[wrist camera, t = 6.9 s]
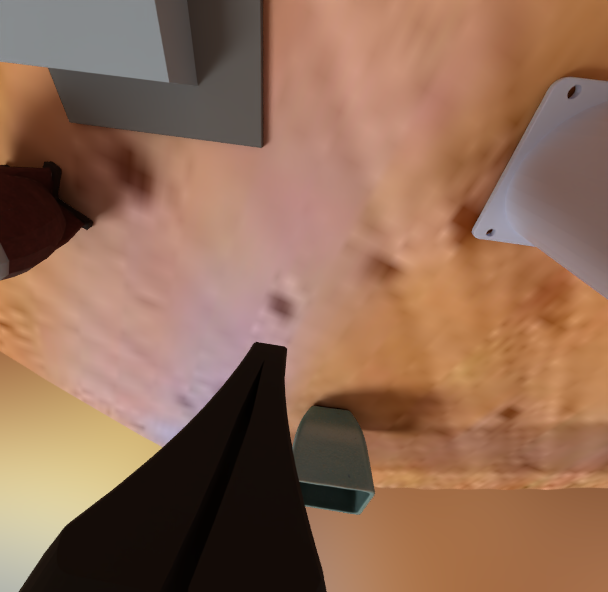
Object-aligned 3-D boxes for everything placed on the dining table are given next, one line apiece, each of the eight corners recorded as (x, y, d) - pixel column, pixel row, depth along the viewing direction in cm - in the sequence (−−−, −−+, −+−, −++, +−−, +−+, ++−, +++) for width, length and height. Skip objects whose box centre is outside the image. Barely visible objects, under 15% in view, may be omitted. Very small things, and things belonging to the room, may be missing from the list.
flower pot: (357, 435, 36) (360, 517, 29) (296, 426, 37) (285, 504, 30) (368, 403, 31) (376, 493, 23) (297, 393, 31) (284, 478, 24)
